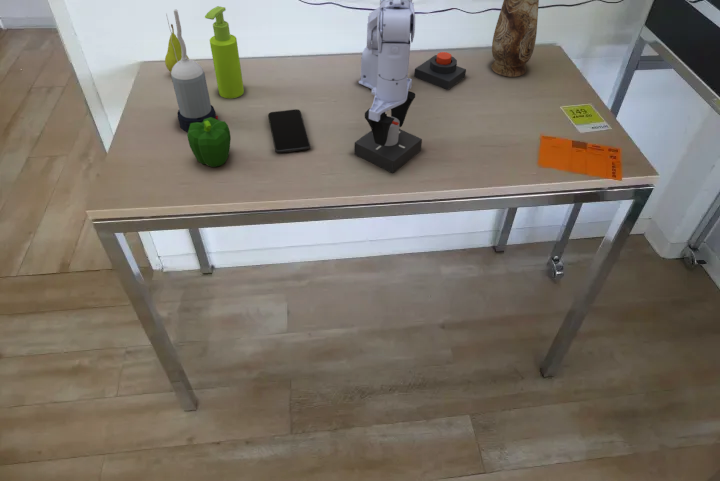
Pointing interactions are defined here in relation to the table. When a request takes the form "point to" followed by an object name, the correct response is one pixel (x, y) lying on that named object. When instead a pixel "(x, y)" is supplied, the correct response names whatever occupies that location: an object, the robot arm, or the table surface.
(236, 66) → the soap dispenser
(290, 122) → the smartphone
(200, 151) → the bell pepper
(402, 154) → the dial panel
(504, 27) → the vase
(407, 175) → the table surface
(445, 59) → the power button
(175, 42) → the fruit
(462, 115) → the table surface
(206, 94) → the humidifier
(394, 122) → the dial
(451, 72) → the button block
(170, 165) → the table surface
